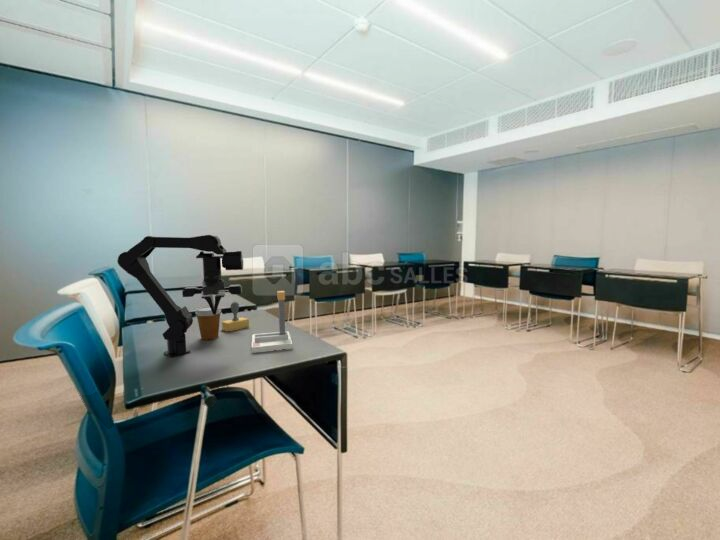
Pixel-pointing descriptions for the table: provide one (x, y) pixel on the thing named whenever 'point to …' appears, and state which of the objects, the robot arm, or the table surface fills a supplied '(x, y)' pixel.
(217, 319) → the disposable coffee cup
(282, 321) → the switch handle
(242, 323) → the rubber stamp
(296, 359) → the table surface
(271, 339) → the switch base
